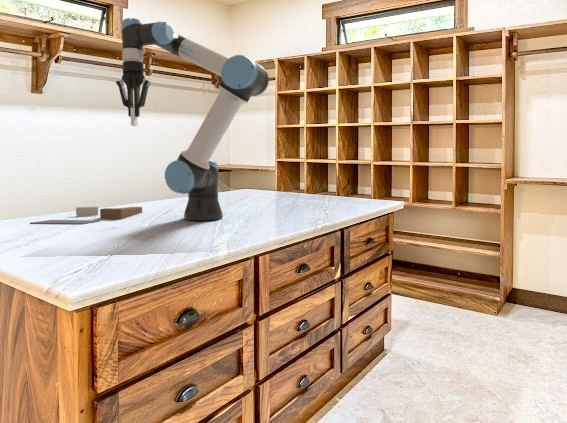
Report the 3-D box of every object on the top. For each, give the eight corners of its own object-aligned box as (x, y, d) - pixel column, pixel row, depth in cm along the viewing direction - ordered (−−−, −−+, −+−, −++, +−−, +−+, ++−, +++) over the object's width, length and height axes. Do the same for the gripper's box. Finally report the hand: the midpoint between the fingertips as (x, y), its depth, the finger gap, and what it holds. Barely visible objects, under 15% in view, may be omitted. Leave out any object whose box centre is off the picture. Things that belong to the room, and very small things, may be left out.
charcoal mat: (100, 221, 181) (100, 220, 181) (82, 224, 168) (82, 223, 168) (51, 220, 183) (51, 219, 183) (29, 223, 171) (29, 222, 170)
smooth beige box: (96, 218, 201) (96, 206, 201) (98, 219, 194) (97, 207, 194) (76, 218, 198) (75, 206, 198) (76, 220, 191) (76, 207, 190)
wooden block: (99, 208, 186) (123, 206, 204) (99, 220, 186) (123, 217, 204) (120, 209, 184) (142, 206, 202) (121, 220, 185) (142, 217, 202)
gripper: (153, 64, 181) (154, 126, 183) (121, 65, 183) (122, 127, 184) (145, 59, 174) (146, 124, 175) (111, 60, 176) (113, 124, 177)
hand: (134, 125), depth 180 cm, fingers closed
